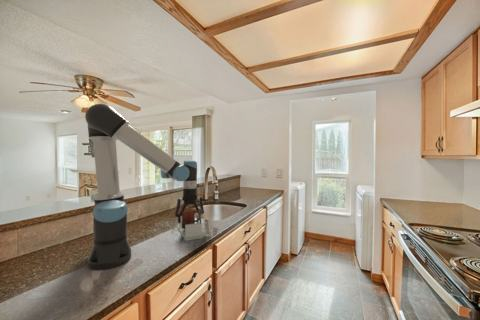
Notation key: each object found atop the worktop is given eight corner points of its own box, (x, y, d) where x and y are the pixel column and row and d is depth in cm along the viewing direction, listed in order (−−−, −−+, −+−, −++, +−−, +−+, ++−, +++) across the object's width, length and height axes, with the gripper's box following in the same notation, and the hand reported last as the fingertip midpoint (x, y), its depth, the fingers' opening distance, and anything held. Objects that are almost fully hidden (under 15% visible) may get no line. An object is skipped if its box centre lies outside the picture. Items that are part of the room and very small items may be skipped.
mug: (177, 229, 112) (177, 211, 111) (184, 224, 120) (184, 207, 120) (197, 231, 109) (197, 212, 109) (203, 225, 118) (203, 208, 118)
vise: (185, 240, 103) (185, 211, 103) (177, 227, 123) (177, 202, 122) (203, 237, 107) (203, 209, 107) (192, 225, 127) (193, 201, 127)
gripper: (171, 189, 106) (170, 232, 107) (210, 187, 116) (209, 226, 117) (169, 187, 113) (168, 227, 113) (206, 186, 123) (205, 222, 123)
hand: (189, 227), depth 115 cm, fingers closed on mug, 9 cm apart
